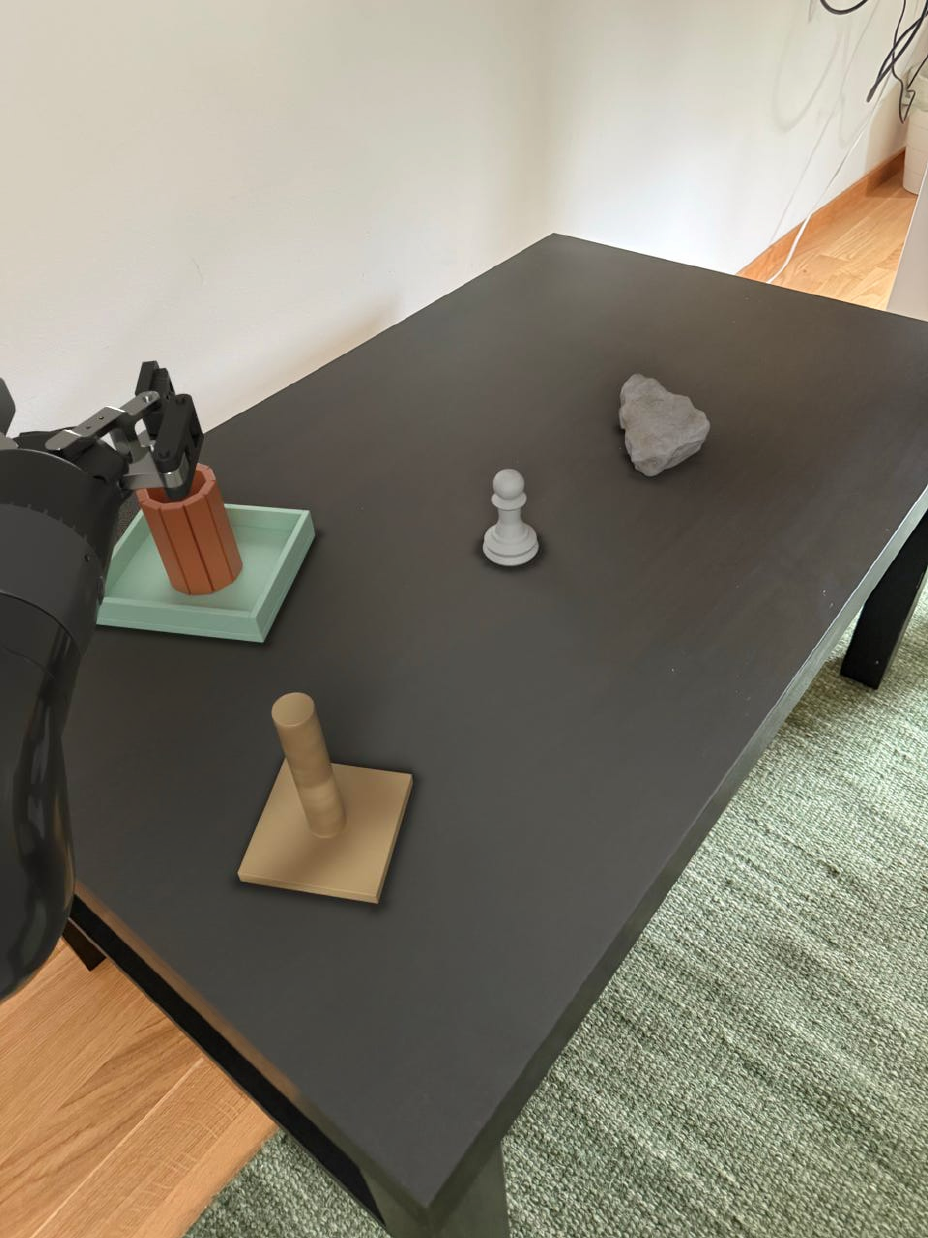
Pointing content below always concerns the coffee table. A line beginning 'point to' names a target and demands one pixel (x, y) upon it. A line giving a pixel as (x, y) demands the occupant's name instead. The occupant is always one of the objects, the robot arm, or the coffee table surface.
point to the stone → (659, 425)
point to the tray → (235, 611)
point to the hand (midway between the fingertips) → (79, 383)
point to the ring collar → (193, 535)
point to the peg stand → (324, 816)
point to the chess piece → (509, 523)
